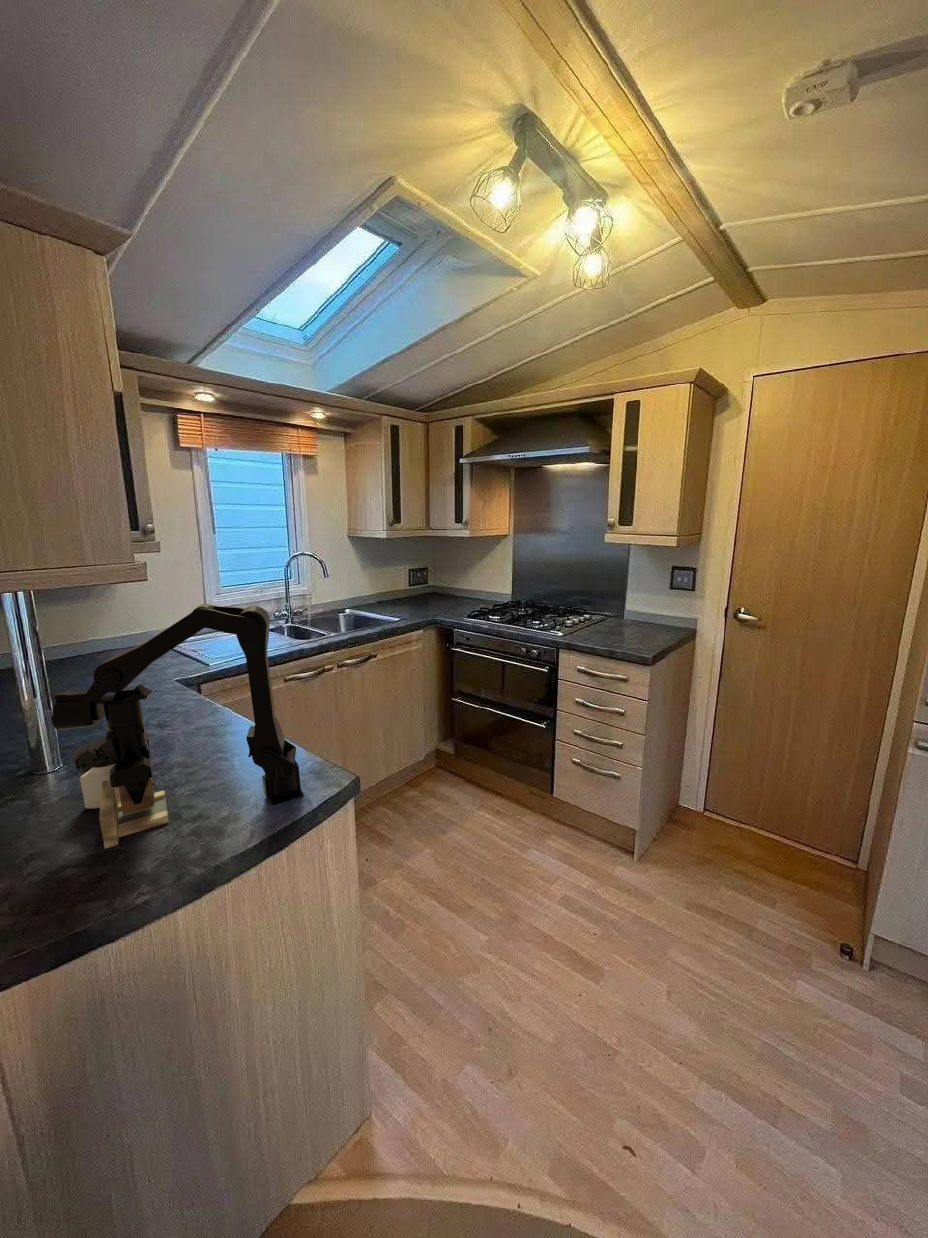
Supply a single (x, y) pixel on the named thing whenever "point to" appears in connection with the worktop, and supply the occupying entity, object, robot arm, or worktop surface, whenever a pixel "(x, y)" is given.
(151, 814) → the cleat board
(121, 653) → the robot arm
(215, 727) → the worktop surface
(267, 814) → the worktop surface
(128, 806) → the cabinet block
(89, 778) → the medicine bottle
